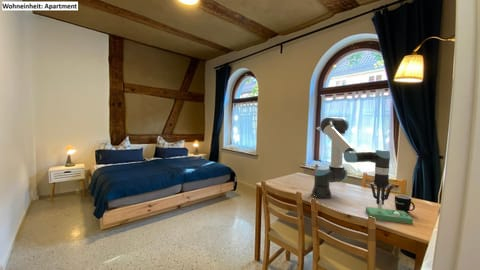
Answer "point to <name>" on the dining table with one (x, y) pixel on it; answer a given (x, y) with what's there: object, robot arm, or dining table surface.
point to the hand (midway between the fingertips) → (379, 209)
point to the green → (389, 215)
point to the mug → (403, 203)
